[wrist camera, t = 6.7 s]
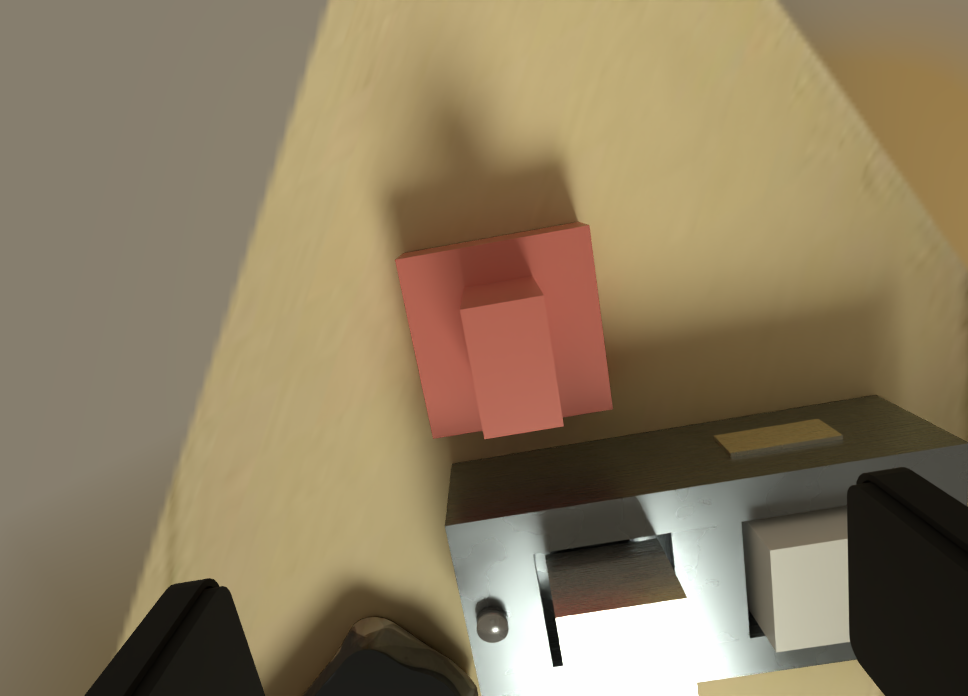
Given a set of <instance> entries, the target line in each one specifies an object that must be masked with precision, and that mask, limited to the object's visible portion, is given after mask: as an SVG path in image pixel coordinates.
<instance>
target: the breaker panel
mask: <svg viewBox="0 0 968 696" xmlns="http://www.w3.org/2000/svg"><path fill="white" fill-rule="evenodd" d="M898 467H906V468H908V469H910V470H912V471H914V472H915V473H917V474H918V475H920V476H921V477H923V478H924V479H926V480H928V481H929V482H931V483H932V484H934V485H935V486H937V487H938V488H940V489H941V490H943V491H944V492H946V493H947V494H949V495H951V496H952V497H954V498H955V499H957V500H958V501H960V502H961V503H963V504H964V505H966V506H967V502H968V442H966V441H964V440H962V439H961V438H959V437H957V436H955V435H953V434H951V433H949V432H947V431H945V430H943V429H941V428H939V427H937V426H935V425H933V424H931V423H930V422H928V421H926V420H924V419H922V418H920V417H918V416H916V415H914V414H912V413H910V412H908V411H906V410H904V409H902V408H900V407H899V406H897V405H895V404H893V403H891V402H889V401H887V400H885V399H883V398H881V397H879V396H877V395H873V396H867V397H861V398H855V399H849V400H842V401H836V402H830V403H824V404H818V405H812V406H806V407H799V408H793V409H787V410H781V411H775V412H769V413H763V414H756V415H750V416H744V417H738V418H732V419H726V420H720V421H713V422H707V423H701V424H695V425H689V426H683V427H677V428H670V429H664V430H658V431H652V432H646V433H640V434H633V435H627V436H621V437H615V438H609V439H603V440H597V441H590V442H584V443H578V444H572V445H566V446H560V447H554V448H547V449H541V450H535V451H529V452H523V453H517V454H511V455H504V456H498V457H492V458H486V459H480V460H474V461H468V462H461V463H455V464H452V468H451V477H450V485H449V494H448V503H447V512H446V521H445V529H446V534H447V538H448V543H449V548H450V552H451V557H452V561H453V566H454V571H455V575H456V580H457V585H458V589H459V594H460V598H461V603H462V608H463V612H464V617H465V622H466V626H467V631H468V635H469V640H470V645H471V649H472V654H473V659H474V663H475V668H476V672H477V677H478V682H479V686H480V691H481V695H482V696H698V693H697V682H704V681H711V680H718V679H725V678H732V677H738V676H745V675H752V674H759V673H766V672H773V671H780V670H787V669H794V668H801V667H808V666H815V665H822V664H828V663H835V662H842V661H849V660H856V659H857V658H856V656H855V654H854V652H853V649H852V647H851V643H850V642H845V643H838V644H831V645H824V646H817V647H810V648H803V649H797V650H790V651H783V652H776V651H775V650H774V648H773V647H772V645H771V643H770V642H769V640H768V639H767V637H766V636H765V634H764V632H763V631H762V629H761V628H760V626H759V625H758V623H757V621H756V620H755V618H754V617H753V615H752V614H751V612H750V611H749V609H748V606H747V592H746V579H745V565H744V552H743V538H742V525H741V522H743V521H749V520H756V519H762V518H769V517H775V516H782V515H788V514H795V513H801V512H807V511H814V510H820V509H827V508H833V507H840V506H846V505H847V491H848V489H849V487H850V486H852V485H856V481H857V479H858V477H859V475H861V474H862V473H867V472H873V471H879V470H885V469H892V468H898Z"/></svg>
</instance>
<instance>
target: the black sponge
mask: <svg viewBox="0 0 968 696" xmlns="http://www.w3.org/2000/svg"><path fill="white" fill-rule="evenodd" d="M303 696H478V692H477V687H476V685H475V684H474V682H473V681H472V680H471V678H470V677H469V676H468V675H467V674H466V673H465V672H464V671H463V670H462V669H461V668H460V667H458V666H457V665H456V664H455V663H454V662H453V661H451V660H450V659H449V658H447V657H445V656H444V655H442V654H440V653H439V652H437V651H435V650H433V649H432V648H430V647H429V646H427V645H426V644H425V643H423V642H422V641H420V640H419V639H417V638H415V637H414V636H413V635H411V634H410V633H408V632H407V631H406V630H404V629H403V628H401V627H400V626H398V625H397V624H395V623H394V622H392V621H390V620H387V619H385V618H379V617H369V618H364V619H361V620H359V621H358V622H357V623H355V624H354V625H353V626H352V628H351V629H350V631H349V633H348V635H347V637H346V638H345V640H344V642H343V644H342V646H341V647H340V648H339V650H338V651H337V653H336V654H335V656H334V658H333V659H332V660H331V662H330V663H329V664H328V665H327V666H326V668H325V669H324V670H323V671H322V672H321V673H320V675H319V676H318V678H317V679H316V680H315V681H314V682H313V684H312V685H311V686H310V687H309V688H308V690H307V691H306V692H305V693H304V694H303Z"/></svg>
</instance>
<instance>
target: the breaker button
mask: <svg viewBox="0 0 968 696" xmlns="http://www.w3.org/2000/svg"><path fill="white" fill-rule="evenodd" d="M741 525H742V538H743V552H744V565H745V579H746V592H747V606H748V609H749V611H750V612H751V614H752V615H753V617H754V618H755V620H756V621H757V623H758V625H759V626H760V628H761V629H762V631H763V632H764V634H765V636H766V637H767V639H768V640H769V642H770V643H771V645H772V647H773V648H774V650H775V651H776V652H783V651H790V650H797V649H803V648H810V647H817V646H824V645H831V644H838V643H845V642H850V637H849V593H848V533H847V505H846V506H840V507H833V508H827V509H820V510H814V511H807V512H801V513H795V514H788V515H782V516H775V517H769V518H762V519H756V520H749V521H743V522H741Z"/></svg>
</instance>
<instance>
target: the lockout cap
mask: <svg viewBox="0 0 968 696" xmlns="http://www.w3.org/2000/svg"><path fill="white" fill-rule="evenodd" d="M395 262H396V266H397V271H398V276H399V280H400V285H401V290H402V295H403V299H404V304H405V309H406V313H407V318H408V323H409V327H410V332H411V337H412V342H413V346H414V351H415V356H416V360H417V365H418V370H419V374H420V379H421V384H422V389H423V393H424V398H425V403H426V407H427V412H428V417H429V421H430V426H431V431H432V435H433V439H435V438H441V437H447V436H453V435H459V434H465V433H472V432H478V431H483V435H484V439H489V438H495V437H501V436H507V435H514V434H520V433H526V432H532V431H538V430H544V429H550V428H556V427H562V426H564V424H563V417H569V416H575V415H581V414H587V413H593V412H599V411H605V410H611V409H613V406H612V398H611V391H610V383H609V375H608V367H607V359H606V352H605V344H604V336H603V328H602V320H601V313H600V305H599V297H598V289H597V281H596V274H595V266H594V258H593V250H592V243H591V235H590V227H589V225H587V224H583V223H580V222H575V223H569V224H564V225H558V226H552V227H547V228H541V229H536V230H530V231H524V232H519V233H513V234H508V235H502V236H496V237H491V238H485V239H480V240H474V241H468V242H463V243H457V244H452V245H446V246H440V247H435V248H429V249H424V250H418V251H412V252H407V253H403V254H402V255H401V256H400V257H398V258H397V259H396V260H395Z"/></svg>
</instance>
